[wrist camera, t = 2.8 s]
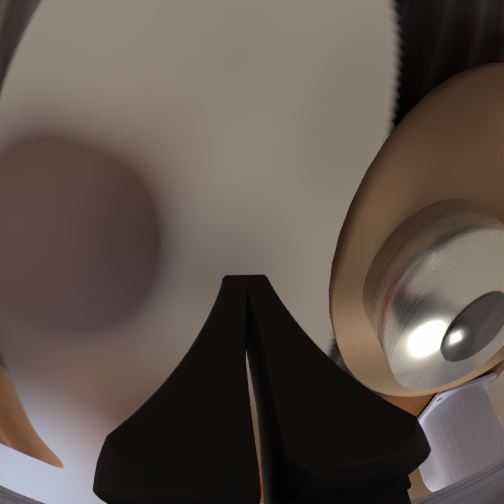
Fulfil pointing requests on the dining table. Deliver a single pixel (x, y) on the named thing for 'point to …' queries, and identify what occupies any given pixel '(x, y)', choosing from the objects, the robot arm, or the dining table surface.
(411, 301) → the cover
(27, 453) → the dining table surface
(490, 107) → the turntable
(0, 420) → the dining table surface
